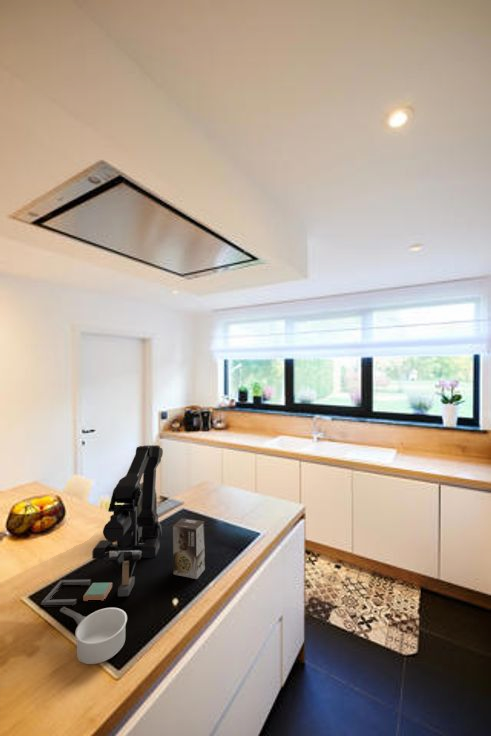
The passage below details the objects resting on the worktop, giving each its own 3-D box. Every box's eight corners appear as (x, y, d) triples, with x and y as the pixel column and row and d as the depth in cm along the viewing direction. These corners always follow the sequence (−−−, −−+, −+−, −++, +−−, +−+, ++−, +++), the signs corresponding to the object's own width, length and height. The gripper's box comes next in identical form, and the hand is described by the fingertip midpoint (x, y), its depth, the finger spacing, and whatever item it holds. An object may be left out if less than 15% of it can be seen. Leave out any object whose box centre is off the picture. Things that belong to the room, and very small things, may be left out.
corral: (90, 583, 100) (90, 579, 100) (74, 605, 90) (74, 601, 91) (60, 583, 100) (60, 580, 100) (41, 606, 90) (41, 602, 90)
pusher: (134, 583, 99) (134, 557, 99) (128, 596, 93) (128, 568, 93) (125, 583, 99) (125, 557, 99) (117, 596, 93) (118, 568, 93)
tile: (112, 588, 99) (112, 581, 99) (103, 602, 93) (104, 595, 93) (92, 588, 99) (92, 582, 99) (83, 602, 93) (83, 595, 93)
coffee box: (205, 568, 108) (205, 520, 108) (196, 580, 102) (196, 529, 102) (182, 563, 111) (182, 517, 111) (172, 574, 105) (172, 525, 105)
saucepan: (81, 614, 87) (81, 594, 87) (137, 637, 79) (137, 615, 79) (39, 647, 77) (39, 623, 77) (99, 677, 69) (99, 651, 69)
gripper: (163, 513, 105) (163, 561, 104) (107, 514, 104) (106, 562, 104) (155, 529, 94) (154, 582, 93) (91, 530, 93) (91, 584, 93)
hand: (126, 576), depth 96 cm, fingers closed on pusher, 2 cm apart
